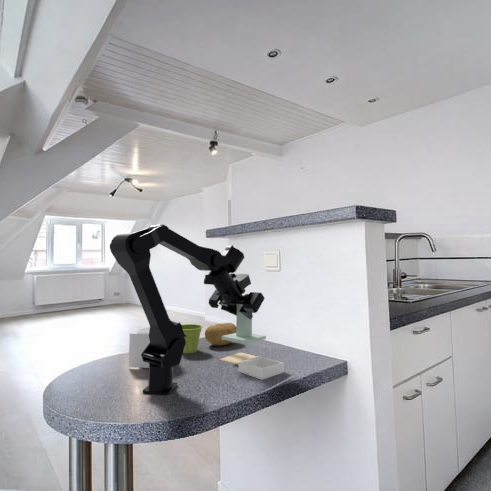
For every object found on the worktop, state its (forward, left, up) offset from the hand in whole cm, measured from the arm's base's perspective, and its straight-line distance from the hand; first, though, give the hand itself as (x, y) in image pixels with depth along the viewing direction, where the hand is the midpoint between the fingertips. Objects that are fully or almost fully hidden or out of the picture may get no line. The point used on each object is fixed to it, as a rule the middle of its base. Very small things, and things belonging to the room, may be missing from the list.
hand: (247, 317), depth 107 cm
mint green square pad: (-1, +1, -13) cm, 13 cm away
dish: (-12, -6, -13) cm, 19 cm away
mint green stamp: (-1, +1, -7) cm, 7 cm away
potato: (+16, +12, -14) cm, 25 cm away
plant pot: (+5, +21, -14) cm, 26 cm away
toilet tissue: (-10, +27, -14) cm, 32 cm away
